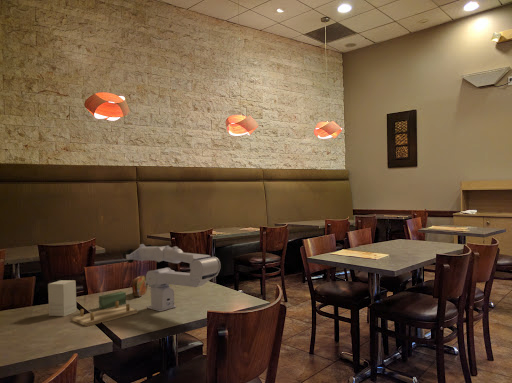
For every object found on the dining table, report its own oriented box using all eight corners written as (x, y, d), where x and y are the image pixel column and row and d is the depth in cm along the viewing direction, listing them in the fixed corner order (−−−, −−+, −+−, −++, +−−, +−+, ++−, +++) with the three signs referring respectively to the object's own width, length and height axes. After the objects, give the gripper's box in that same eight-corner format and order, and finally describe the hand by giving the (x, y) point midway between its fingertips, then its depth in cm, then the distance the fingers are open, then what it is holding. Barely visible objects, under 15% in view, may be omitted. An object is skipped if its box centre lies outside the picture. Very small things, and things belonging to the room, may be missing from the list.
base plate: (137, 312, 153) (137, 303, 153) (86, 326, 138) (86, 315, 138) (121, 308, 161) (121, 299, 161) (72, 320, 146) (71, 310, 146)
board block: (126, 304, 168) (125, 292, 168) (103, 309, 160) (103, 297, 160) (121, 302, 171) (120, 291, 171) (99, 308, 163) (98, 296, 163)
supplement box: (77, 311, 158) (76, 280, 159) (63, 316, 151) (62, 284, 152) (62, 310, 160) (61, 279, 161) (48, 315, 153) (47, 283, 154)
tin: (138, 298, 177) (137, 279, 177) (131, 298, 177) (130, 280, 177) (148, 290, 192) (147, 273, 192) (141, 291, 192) (141, 273, 192)
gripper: (162, 240, 170) (143, 241, 178) (133, 247, 158) (115, 248, 167) (164, 256, 170) (146, 256, 178) (136, 264, 159) (117, 264, 167)
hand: (131, 253), depth 173 cm, fingers open, 7 cm apart
